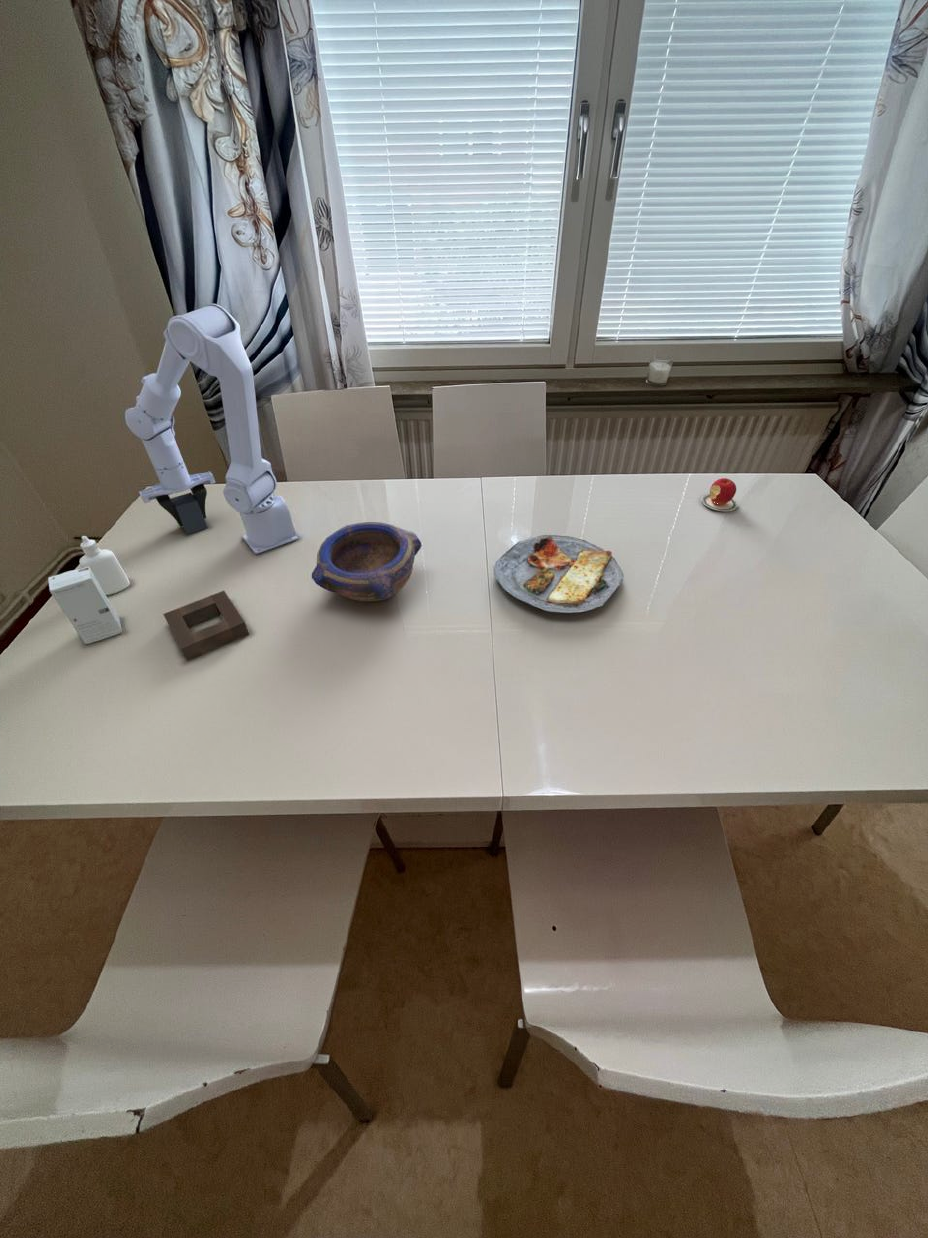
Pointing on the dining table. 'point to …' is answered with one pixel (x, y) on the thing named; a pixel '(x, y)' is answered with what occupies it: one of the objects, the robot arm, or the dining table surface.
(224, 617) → the frame
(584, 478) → the dining table surface
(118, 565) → the eye dropper bottle
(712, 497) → the apple
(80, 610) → the cosmetic box
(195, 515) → the dark grey rectangular block
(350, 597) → the bowl
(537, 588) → the food plate
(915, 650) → the dining table surface
